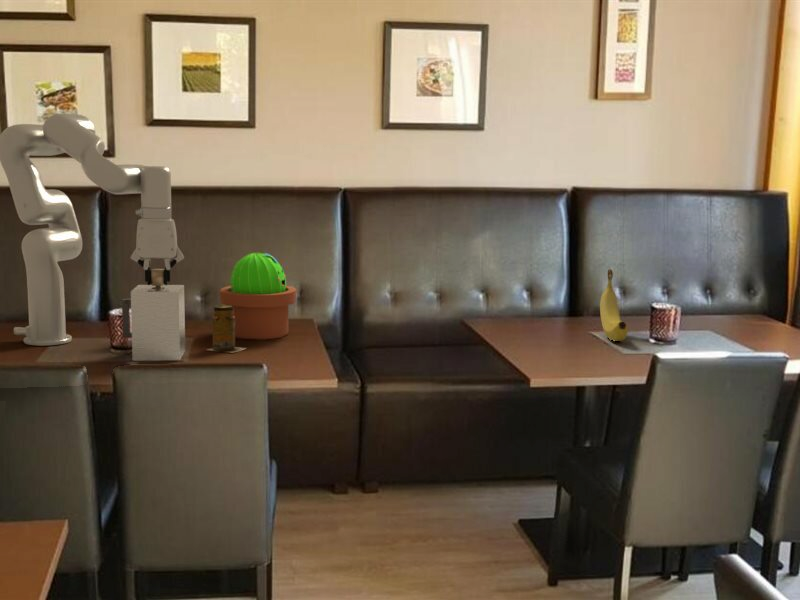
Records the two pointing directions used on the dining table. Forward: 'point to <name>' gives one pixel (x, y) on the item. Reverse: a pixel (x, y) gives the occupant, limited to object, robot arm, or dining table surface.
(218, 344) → the condiment
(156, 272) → the plunger
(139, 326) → the press housing
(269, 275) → the potted cactus
